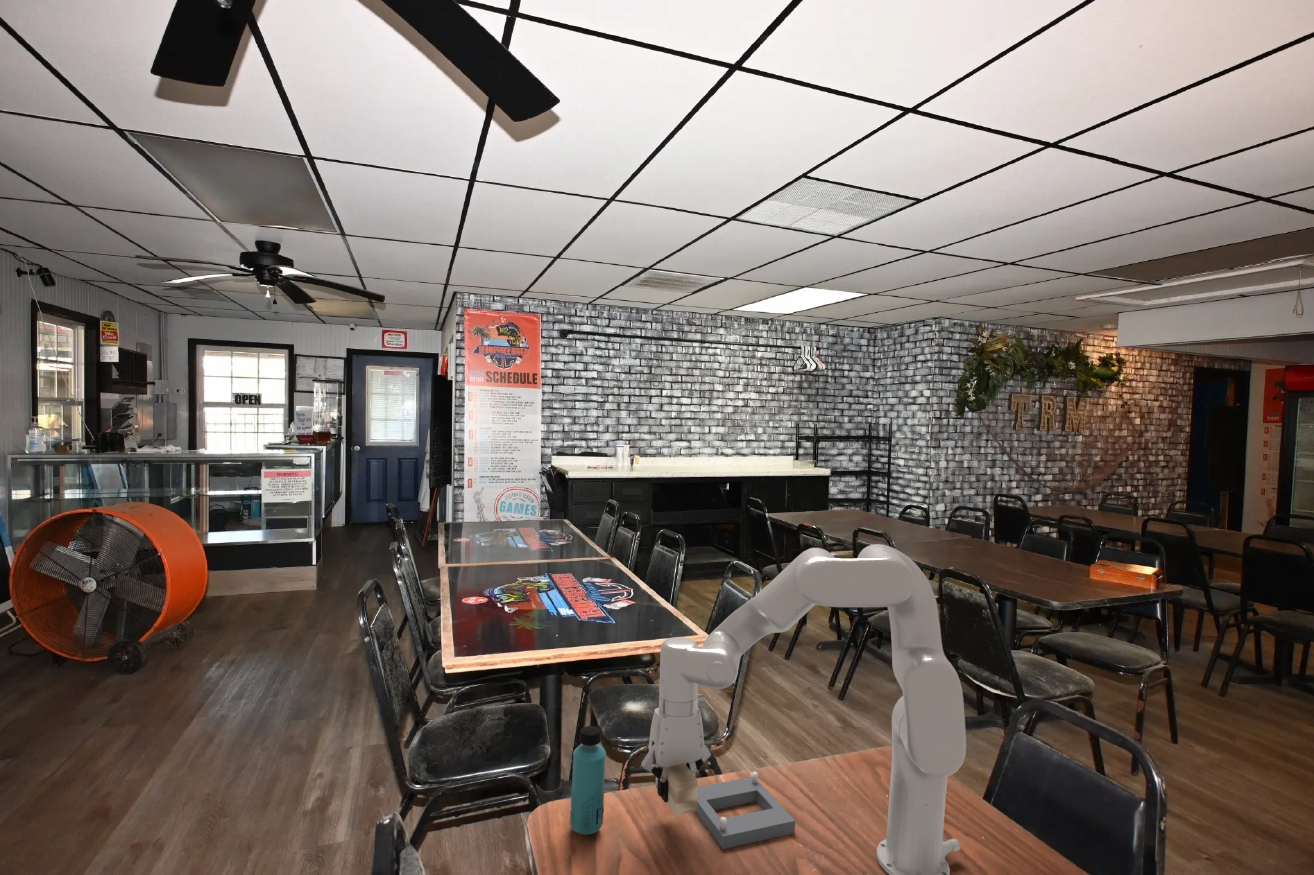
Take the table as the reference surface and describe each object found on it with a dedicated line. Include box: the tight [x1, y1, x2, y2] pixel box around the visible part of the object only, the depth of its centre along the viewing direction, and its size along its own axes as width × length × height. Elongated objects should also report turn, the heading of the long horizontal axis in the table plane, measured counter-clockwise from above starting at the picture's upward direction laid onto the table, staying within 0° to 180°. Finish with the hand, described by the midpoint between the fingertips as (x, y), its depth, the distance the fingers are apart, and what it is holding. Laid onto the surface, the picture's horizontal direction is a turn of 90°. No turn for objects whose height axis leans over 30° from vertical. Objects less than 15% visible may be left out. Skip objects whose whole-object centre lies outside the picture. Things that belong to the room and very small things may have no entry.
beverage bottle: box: [569, 725, 607, 835], centre depth 124 cm, size 6×7×20 cm
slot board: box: [694, 771, 796, 850], centre depth 131 cm, size 16×16×4 cm
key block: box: [655, 763, 699, 816], centre depth 126 cm, size 4×10×6 cm, turn 22°
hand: (675, 794), depth 126 cm, fingers closed on key block, 4 cm apart
